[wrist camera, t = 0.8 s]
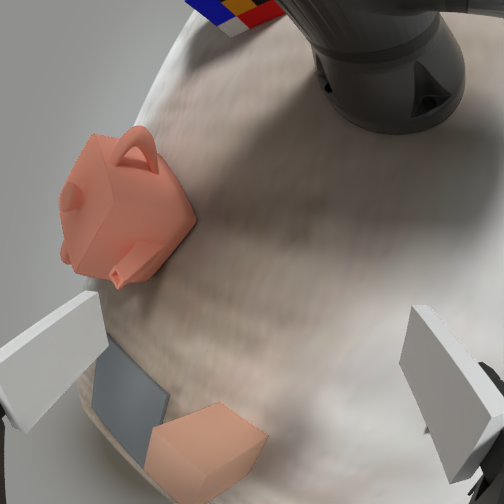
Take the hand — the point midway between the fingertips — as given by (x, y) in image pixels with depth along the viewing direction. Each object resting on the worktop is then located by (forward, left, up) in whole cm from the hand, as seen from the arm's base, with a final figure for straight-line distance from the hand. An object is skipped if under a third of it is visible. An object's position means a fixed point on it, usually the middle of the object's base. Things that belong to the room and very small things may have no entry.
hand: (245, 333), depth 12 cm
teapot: (+1, -27, -17) cm, 32 cm away
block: (+20, -6, -17) cm, 27 cm away
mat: (+30, -26, -17) cm, 43 cm away
